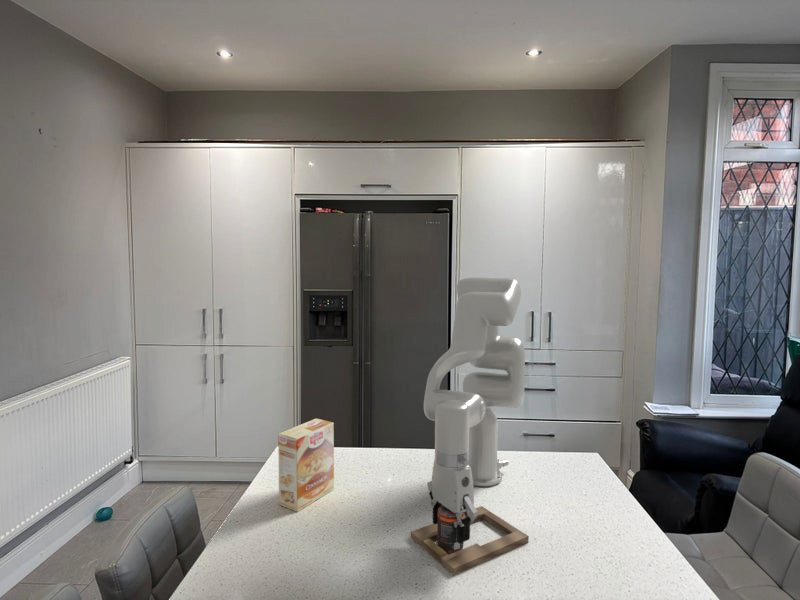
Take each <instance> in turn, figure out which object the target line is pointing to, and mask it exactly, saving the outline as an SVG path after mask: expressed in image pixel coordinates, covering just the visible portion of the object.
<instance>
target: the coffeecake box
mask: <svg viewBox="0 0 800 600" xmlns="http://www.w3.org/2000/svg"><path fill="white" fill-rule="evenodd" d="M334 424H335V423H334V422H333V421H330V420H329V421H328V420H325V419H320V418H314V419H312V420H309V421H307V422H304V423H302V424H299V425H296V426H294V427H292V428H289V429H287V430H285V431H283V432H282V431H281V432H279V433H278V434H277V438H278V441H277V443H278V447H277V448H278V449H277V451H278V505H279V506H281V505H282V506H281V507H285V508H286V507H287V509H289V510H291V509H292V510H291V511H293V510H294V511H293V512H296V511H297V512H296V513H298V511H299V512H300V511H302V510H304V509H305V508H306V507H308V506H310V505H311V504H312V503H315V502H316V501H317V500H319V499H321V498H323V496H325V495H327V494H328V493H330V492H331V491H334V489H335V486H334V485H335V480H334V479H335V473H334V472H335V467H334V466H335V462H334V461H335V458H334V457H335V455H334V453H335V452H334V451H335V449H334V448H335V447H334V445H335V443H334V442H335V438H334V437H335V435H334V433H335V432H334V428H335V427H334V426H335V425H334Z"/></svg>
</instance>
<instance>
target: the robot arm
mask: <svg viewBox="0 0 800 600" xmlns="http://www.w3.org/2000/svg"><path fill="white" fill-rule="evenodd" d="M521 293H522V292H521V286H520V283H519V282H518V280H516V279H514V278H507V277H474V276H473V277H464V278H462V279H460V280H458V282H457V284H456V294H457V298H458V299H457V302H456V307H455V314H454V320H453V328H452V335H451V342H450V347H449V348H448V350H447V351H446V352H444V353H443V354H442V355H441V356H440V357H439V358H438V359H437V361H436V362H435V363H434V365H433V366H432V367H431V369H430V371H429V374H428V376H427V380H426V386H425V391H424V397H423V398H424V399H423V412H424V415H425V417H426V418H427V419H428V420H430V421H433V422H434V461H433V466H432V474H431V480H430V481H428V482H427V483H426V484H427V488H428V491H429V493H428V494H429V497H430V500H431V502H430V504H431V507H432V524H438V523H437V522H438V509H439V507H440V506H441V505H443V506H445V507H446V508H448V509H449V510H451V511H452V512H454V513H456V516H457V519H458V522H459V525H457V542H458V543H462V542H467V541H469V540H470V539H471V536H470V535H471V533H470V532H471V523H472V522H473V521H475V518H476V517H477V516H478V511H477V510H476V508H477V507H475V500H474V499H475V493H474V492H475V491H474V486H477V487H491V486H492V487H493V486H496V485H498V484H499V483H501V482H502V480H503V474H502V473H503V472H501V471H500V469H502V468H503V467H507V466H509V460H508V459H506V458H505V459H501V460H500V458H498V442H499V441H498V439H499V437H498V433H499V432H498V431H499V421H498V417H497V414H496V413H495V411H494V410H493V409H492V408H493V407H495V408H504V409H518V408H520V407H521V406H522V404H523V403H524V399H525V377H526V376H525V374H526V373H525V370H526V366H525V364H526V363H525V361H526V358H525V357H526V354H525V346H524V343H523V341H522V340H521V339H520V338H517V337H513V336H512V337H511V336H500V335H499V327H508V326H510V325H511V324H512V323H513V322H514V319H515V317H516V315H517V314H516V313H517V310H518V308H519V304H520V301H521V295H522V294H521ZM467 363H469V364H470V365H471V366H473V367H475V368H477V369H478V368H479V369H487V370H498V371H499V370H500V371H505V372H506V374H505V373H497V372H496V373H495V372H488V371H473V372H469V373H468V374H467V375H465V377H464V378H463V381H462V391H456V390H451V389H450V390H449V389H440V388H441V387H440V386H441V383H442V380H443V379H444V377H445V376H446V375H447V374H448V373H449V372H450V371H452V370H454V369H455V368H457V367H460V366H461V365H465V364H467ZM462 508H463V509H462ZM460 509H462V510H460ZM463 512H464V514H465V517H466V518H464V519H463V518H462V515H461V513H463ZM472 524H473V523H472Z"/></svg>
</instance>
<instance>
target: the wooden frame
mask: <svg viewBox="0 0 800 600" xmlns="http://www.w3.org/2000/svg"><path fill="white" fill-rule="evenodd" d="M475 508H476V510H477V511H478V516H477V517H476V518H475V521H473V522H472V523H471V524H475V523H477V522H480V521H483V520H484V521H486V522H487V523H488V524H490V525H491V526H493V527H494V528H496V529H498V530H499V529H500V530H499V531H501V532H502V531H503V532H502V533H503V534H505V535H504V536H501V537H498V538H496V539H494V540H491V541H489V542H487V543H484V544H482V545H480V544H479V543H474V544H472V545H469V546H467V547H463V549H462V550H459V551H457V552H455V553H446V552H445V551H444V550H443V549H441V548H440V547H439V546H438V545H437V543H435V542H437V524H433V523H431V524H428V525H425V526H422V527H419V528H417V529H414V530H411V531H410V539H411V540H412V541H414V542H415V543H416V544H417V545H418V546H419V547H421V549H423V550H424V551H425V552H426V553H427V554H428V555H430V556H431V557H432V558H433V559H434V560H435V561H436V562H438V563H439V564H440V565H441V566H442V567H444V569H445V570H447V571H448V572H449V573H450V574H451V575H452V576H455V575H458V574H460V573H462V572H464V571H467V570H469V569H471V568H473V567H476V566H477V565H480V564H482V563H485V562H487V561H490V560H491V559H494V558H496V557H498V556H501V555H503V554H506V553H507V552H510V551H512V550H514V549H515V550H516V548H519V547H522V546H523V545H526V544H528V543H529V535H527V534H526V533H525V532H523V531H522V530H520V529H518V528H516V527H515V526H514V525H512V524H510V523H509V522H507V521H506V520H504V519H503V518H501V517H499V516H498V515H497V514H495V513H494V512H491V511H490V510H489V509H487V508H485V507H484V506H483V505H481V506H478V507H475ZM464 518H466V517H465V514H464ZM476 521H477V522H476ZM474 522H475V523H474ZM471 524H470V525H471ZM506 534H507V535H506Z"/></svg>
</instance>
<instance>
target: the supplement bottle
mask: <svg viewBox="0 0 800 600" xmlns="http://www.w3.org/2000/svg"><path fill="white" fill-rule="evenodd" d="M462 509H463V507H462ZM462 509H460V510H462ZM461 515H462V518H463V519H464V512H463V513H461ZM437 523H438V524H437V541H436V542H437V543H436V544H437V545H438V546H439V547H440V548H441V549H443V550H444V551H445V552H446V553H447V554H452V553H455V552H457V551H459V550H462V549H464V542H465V541H464V542H462V543H458V542H457V525H459V522H458V519H457V516H456V513H454V512H452V511H451V510H449V509H448V508H446V507H445V506H443V505H441V506H440V507H439V509H438V522H437Z"/></svg>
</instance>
